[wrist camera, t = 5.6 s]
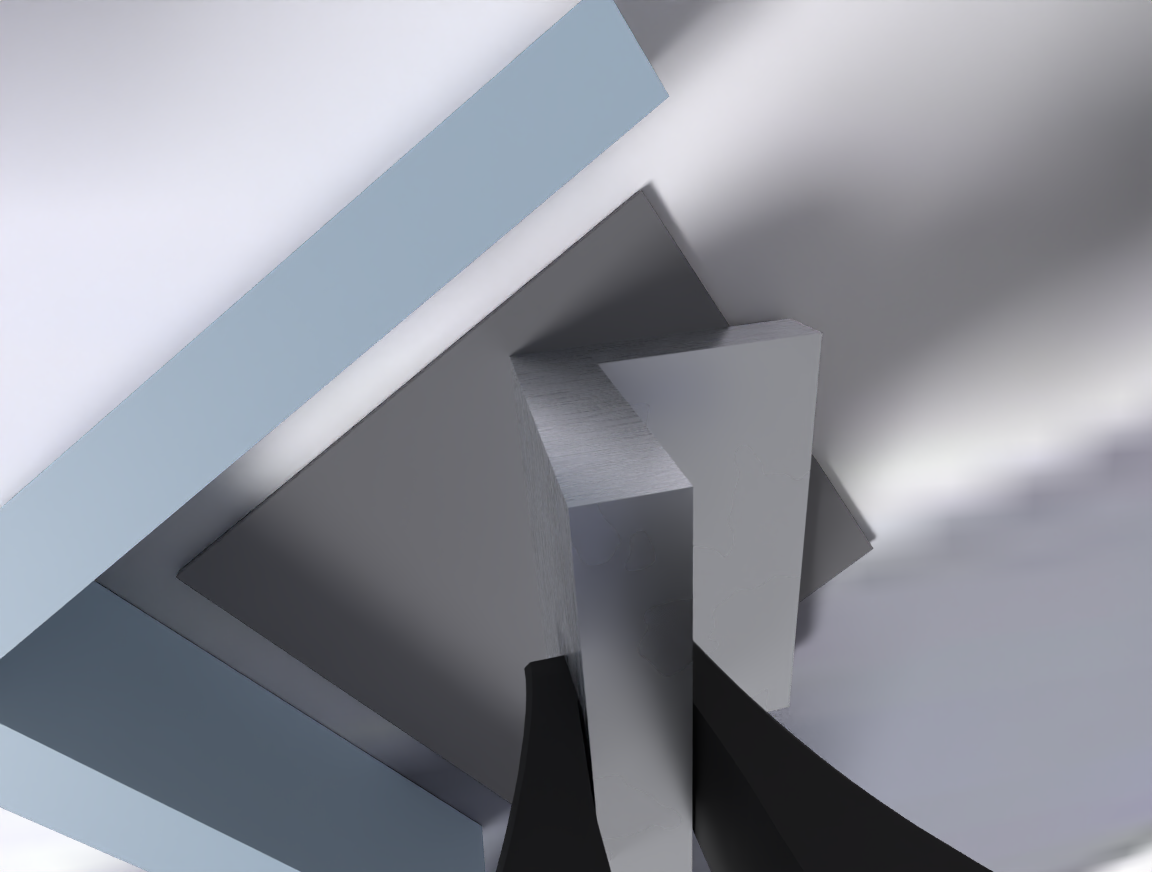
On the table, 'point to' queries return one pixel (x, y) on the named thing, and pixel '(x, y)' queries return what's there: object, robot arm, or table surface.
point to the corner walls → (214, 442)
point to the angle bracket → (666, 546)
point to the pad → (461, 513)
